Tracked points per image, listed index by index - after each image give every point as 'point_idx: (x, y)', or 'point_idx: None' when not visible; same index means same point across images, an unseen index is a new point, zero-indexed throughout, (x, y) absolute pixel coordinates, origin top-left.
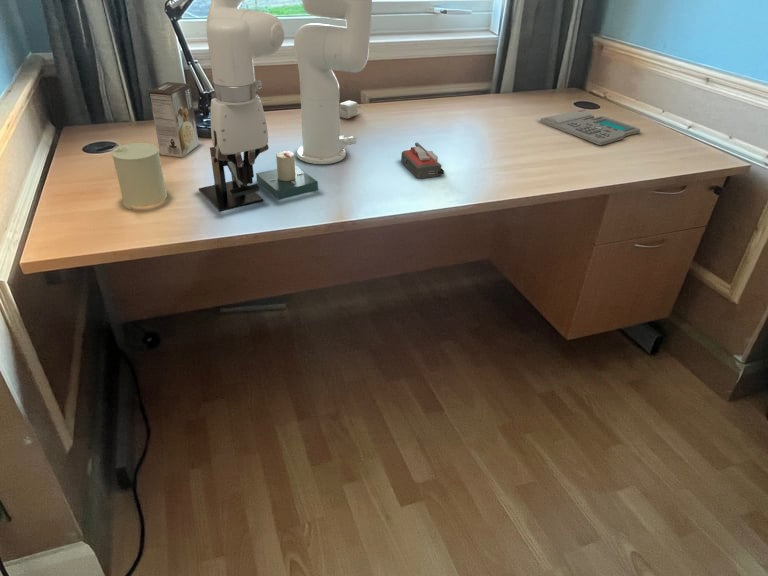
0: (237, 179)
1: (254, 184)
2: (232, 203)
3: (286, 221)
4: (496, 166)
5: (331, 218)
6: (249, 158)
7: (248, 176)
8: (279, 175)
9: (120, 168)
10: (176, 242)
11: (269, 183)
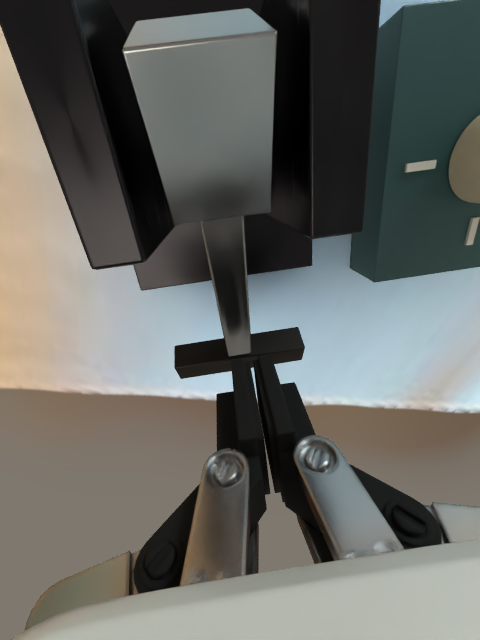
0: (227, 330)
1: (291, 350)
2: (197, 259)
3: (316, 372)
4: None
5: (416, 389)
6: (311, 549)
7: (265, 443)
8: (466, 173)
9: None
10: (11, 385)
11: (389, 192)
